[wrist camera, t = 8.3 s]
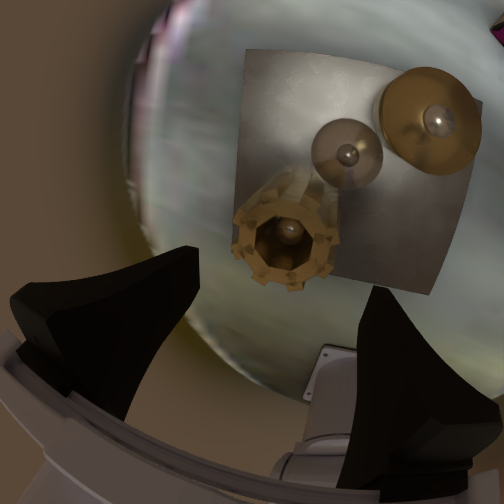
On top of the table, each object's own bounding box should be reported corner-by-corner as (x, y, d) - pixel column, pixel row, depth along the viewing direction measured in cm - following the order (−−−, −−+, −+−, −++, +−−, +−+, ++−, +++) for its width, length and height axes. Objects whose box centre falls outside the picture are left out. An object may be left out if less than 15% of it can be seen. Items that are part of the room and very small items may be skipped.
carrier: (426, 288, 19) (443, 340, 14) (235, 247, 23) (203, 289, 17) (476, 102, 12) (523, 102, 7) (250, 52, 15) (213, 29, 10)
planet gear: (329, 258, 19) (324, 299, 15) (253, 241, 21) (229, 277, 16) (346, 180, 17) (349, 203, 12) (260, 165, 18) (234, 182, 14)
